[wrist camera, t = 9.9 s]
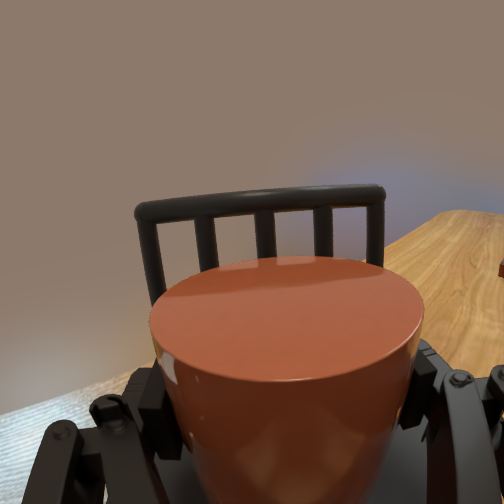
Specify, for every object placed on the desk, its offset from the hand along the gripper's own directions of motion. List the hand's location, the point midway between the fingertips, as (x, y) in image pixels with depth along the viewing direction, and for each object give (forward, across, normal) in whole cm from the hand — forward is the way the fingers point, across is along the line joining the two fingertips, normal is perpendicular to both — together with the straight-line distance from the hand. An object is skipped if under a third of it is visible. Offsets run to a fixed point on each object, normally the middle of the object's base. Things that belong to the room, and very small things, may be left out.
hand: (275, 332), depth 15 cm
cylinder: (-5, 0, -6) cm, 8 cm away
